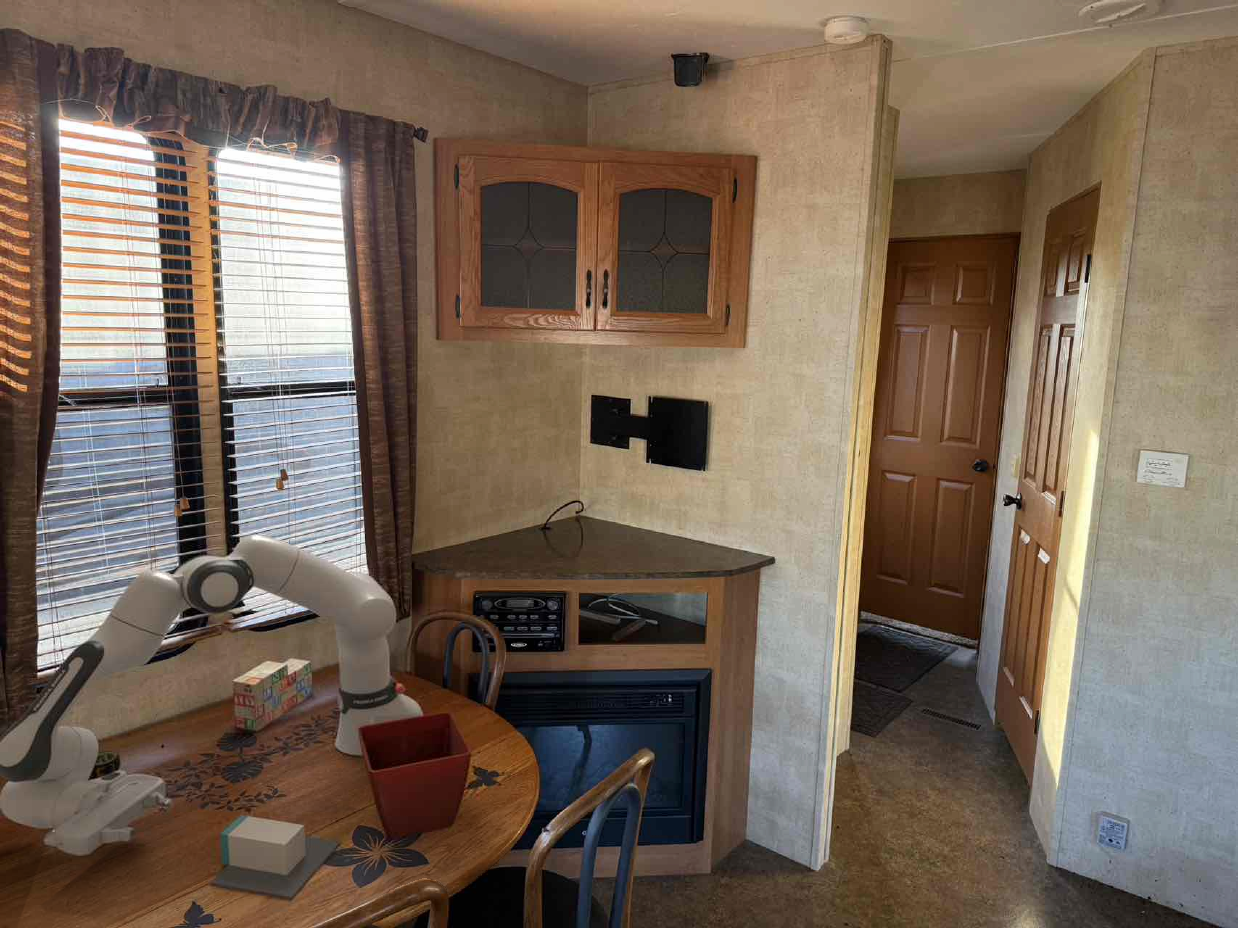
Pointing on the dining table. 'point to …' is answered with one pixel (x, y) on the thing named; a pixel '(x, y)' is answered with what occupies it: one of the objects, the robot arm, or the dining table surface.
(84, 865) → the dining table surface
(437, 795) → the plant pot
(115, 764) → the tape measure
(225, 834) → the cream block
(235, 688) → the stack of blocks
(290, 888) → the mat
